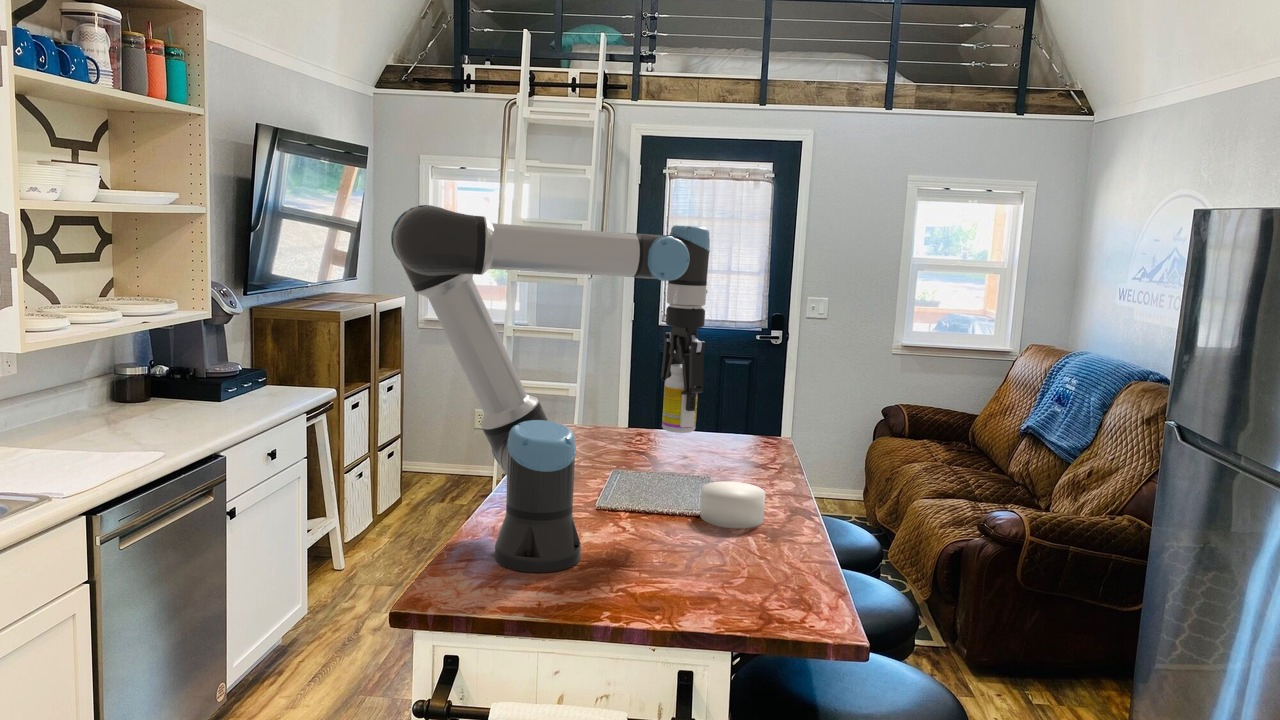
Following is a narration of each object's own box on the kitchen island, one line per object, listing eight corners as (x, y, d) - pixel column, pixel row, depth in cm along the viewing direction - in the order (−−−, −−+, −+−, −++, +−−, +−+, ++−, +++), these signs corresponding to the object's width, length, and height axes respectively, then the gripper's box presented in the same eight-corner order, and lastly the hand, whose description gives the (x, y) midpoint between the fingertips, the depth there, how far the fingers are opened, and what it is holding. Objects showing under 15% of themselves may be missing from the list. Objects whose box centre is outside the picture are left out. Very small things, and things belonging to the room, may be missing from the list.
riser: (729, 533, 180) (731, 503, 180) (687, 514, 191) (689, 486, 190) (776, 522, 188) (778, 494, 187) (734, 505, 198) (735, 478, 198)
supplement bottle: (692, 435, 177) (696, 369, 175) (658, 431, 179) (662, 366, 177) (697, 427, 184) (701, 364, 182) (665, 424, 185) (668, 361, 183)
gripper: (727, 312, 170) (719, 433, 174) (681, 301, 188) (674, 411, 191) (691, 311, 167) (683, 434, 171) (648, 300, 185) (641, 412, 188)
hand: (678, 422), depth 181 cm, fingers closed on supplement bottle, 7 cm apart
